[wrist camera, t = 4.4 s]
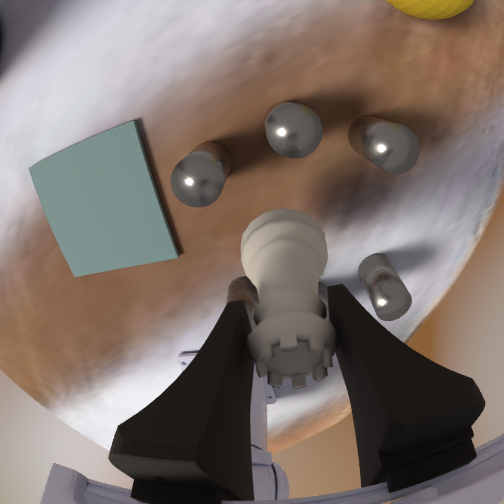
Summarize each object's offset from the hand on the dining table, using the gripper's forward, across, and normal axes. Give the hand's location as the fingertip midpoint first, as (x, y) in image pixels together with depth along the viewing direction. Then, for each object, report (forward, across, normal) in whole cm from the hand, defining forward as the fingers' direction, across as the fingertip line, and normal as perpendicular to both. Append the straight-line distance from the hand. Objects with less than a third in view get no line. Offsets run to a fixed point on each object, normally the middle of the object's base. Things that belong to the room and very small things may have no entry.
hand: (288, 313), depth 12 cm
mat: (+9, +12, -4) cm, 16 cm away
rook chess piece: (+5, 0, 0) cm, 5 cm away
